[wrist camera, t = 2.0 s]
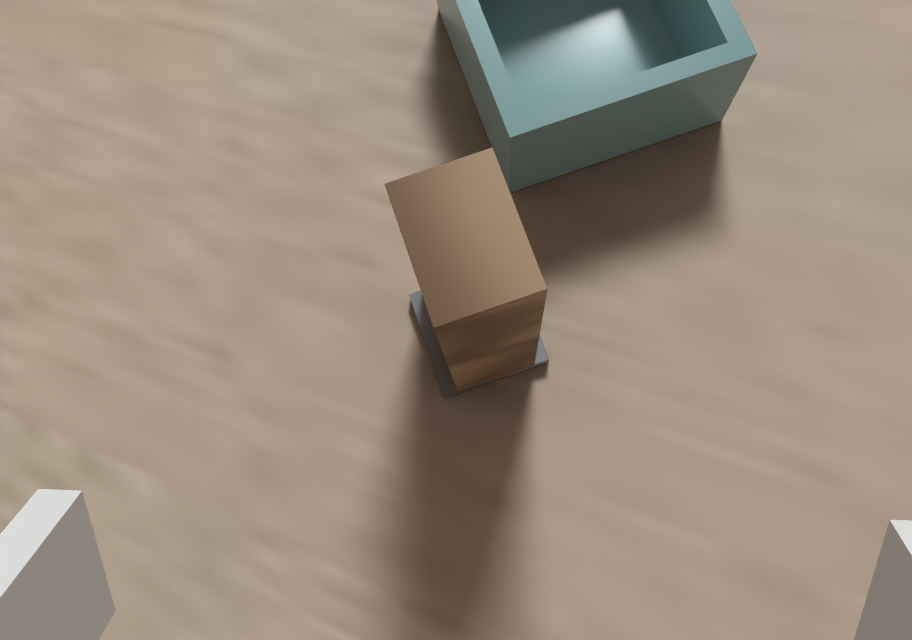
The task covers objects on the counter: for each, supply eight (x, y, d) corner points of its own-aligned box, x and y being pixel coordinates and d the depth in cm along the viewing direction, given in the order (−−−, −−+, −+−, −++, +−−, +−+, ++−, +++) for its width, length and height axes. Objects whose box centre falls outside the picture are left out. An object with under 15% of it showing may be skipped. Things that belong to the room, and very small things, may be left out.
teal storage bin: (636, -58, 36) (656, -147, 32) (721, 120, 34) (757, 53, 29) (438, 9, 36) (427, -71, 31) (509, 192, 34) (509, 137, 29)
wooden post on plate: (510, 264, 33) (512, 140, 22) (548, 362, 32) (568, 281, 21) (410, 298, 33) (364, 190, 22) (444, 398, 32) (412, 335, 21)
